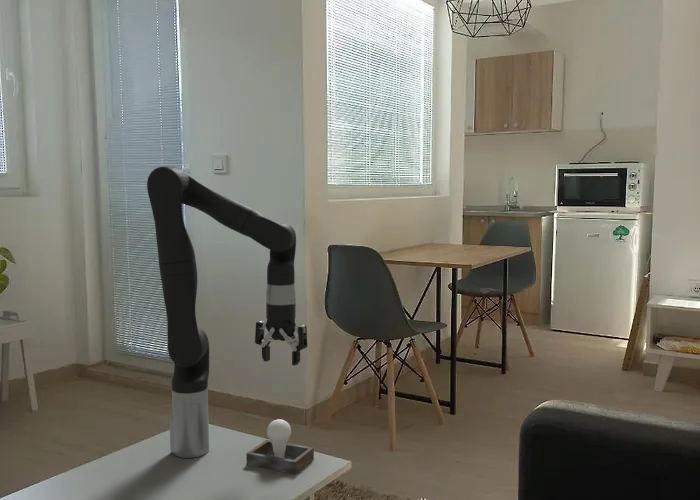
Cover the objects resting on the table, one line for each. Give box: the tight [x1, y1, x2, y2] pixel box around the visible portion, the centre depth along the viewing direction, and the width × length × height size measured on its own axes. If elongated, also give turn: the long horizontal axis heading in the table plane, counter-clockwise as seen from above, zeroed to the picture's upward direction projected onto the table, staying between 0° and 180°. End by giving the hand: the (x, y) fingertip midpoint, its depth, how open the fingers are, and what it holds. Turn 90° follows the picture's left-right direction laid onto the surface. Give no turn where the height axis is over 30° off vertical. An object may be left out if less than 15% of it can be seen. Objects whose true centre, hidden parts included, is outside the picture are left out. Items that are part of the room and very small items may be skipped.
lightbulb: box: [266, 418, 292, 458], centre depth 174 cm, size 6×6×11 cm
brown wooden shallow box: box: [245, 439, 315, 475], centre depth 174 cm, size 14×10×3 cm
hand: (280, 362), depth 177 cm, fingers open, 8 cm apart
